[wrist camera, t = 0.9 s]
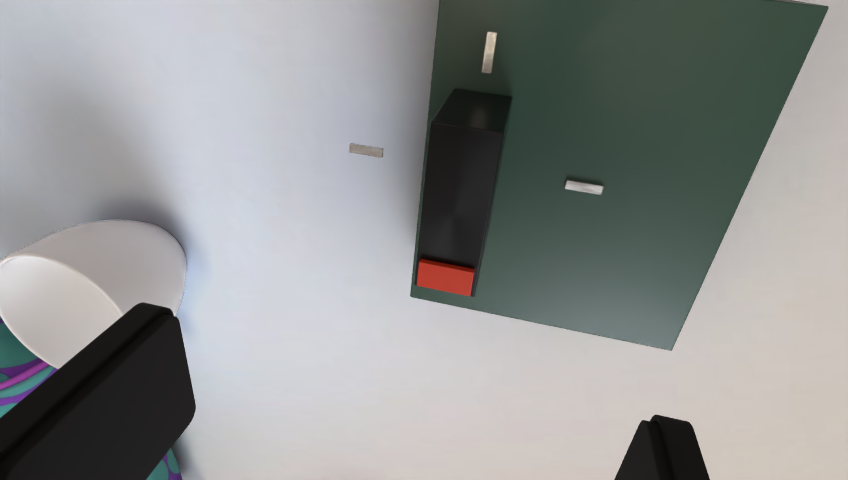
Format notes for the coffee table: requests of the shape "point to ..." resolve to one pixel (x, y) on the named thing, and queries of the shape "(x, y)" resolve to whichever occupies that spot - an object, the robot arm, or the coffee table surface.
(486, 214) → the black and red block
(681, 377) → the coffee table surface
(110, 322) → the cup
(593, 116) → the green block
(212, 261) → the coffee table surface
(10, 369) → the pencil case
